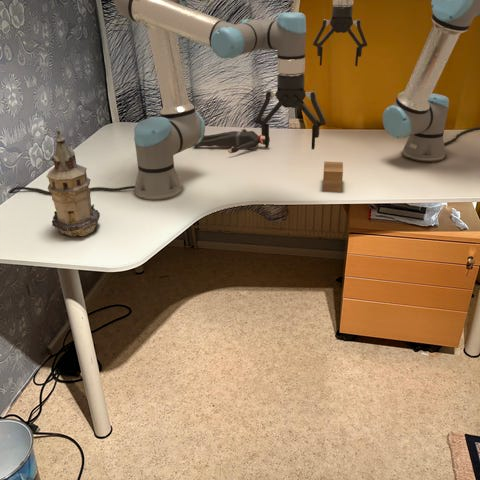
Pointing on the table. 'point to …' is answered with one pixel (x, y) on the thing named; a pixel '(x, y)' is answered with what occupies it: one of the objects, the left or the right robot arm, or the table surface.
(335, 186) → the brick
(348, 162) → the table surface
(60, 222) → the miniature building
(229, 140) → the toy
